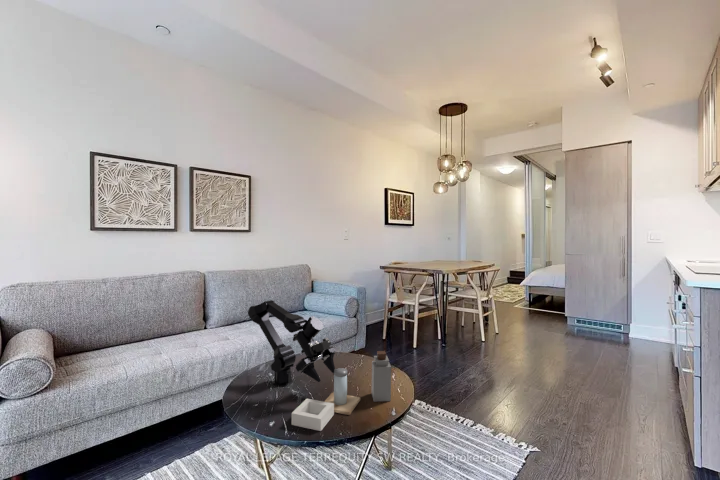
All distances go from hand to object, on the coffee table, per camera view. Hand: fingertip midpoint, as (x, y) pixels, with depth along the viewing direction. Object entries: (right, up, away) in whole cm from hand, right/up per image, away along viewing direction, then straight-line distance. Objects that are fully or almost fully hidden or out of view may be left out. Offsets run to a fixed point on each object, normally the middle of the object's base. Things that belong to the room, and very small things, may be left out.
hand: (327, 377), depth 134 cm
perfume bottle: (+21, -9, +3) cm, 23 cm away
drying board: (+5, -9, -4) cm, 11 cm away
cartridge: (+5, -8, -4) cm, 10 cm away
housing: (-4, -9, -14) cm, 17 cm away
